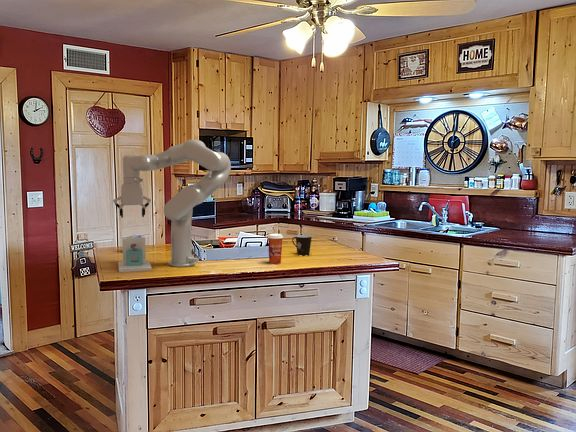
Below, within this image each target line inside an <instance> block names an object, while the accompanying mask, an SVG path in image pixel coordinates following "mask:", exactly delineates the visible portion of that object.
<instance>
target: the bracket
mask: <svg viewBox="0 0 576 432" xmlns="http://www.w3.org/2000/svg"><path fill="white" fill-rule="evenodd" d="M121 239H122V260H121V261H117V263H118V272H119V273H127V272H129V273H130V272H131V273H132V272H146V271H147V272H148V271H153V270H152V269H153V268H152V265H151V263H150V260H149V259H146V237H145V236H144V237H143V236H141V237H140V238H127V237H123V238H121ZM131 244H137V250H142V258H143V265H139V266H127V260H126V250H132V249H131ZM130 258H131V261H138V254H131V255H130Z"/></svg>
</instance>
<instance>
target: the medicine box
mask: <svg viewBox="0 0 576 432" xmlns="http://www.w3.org/2000/svg"><path fill="white" fill-rule="evenodd" d="M134 237H136V238H140V237H142V235H140V234H133V235H130V236H127V237H126V238H134ZM131 249H132V248H131Z"/></svg>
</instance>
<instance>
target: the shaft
mask: <svg viewBox="0 0 576 432" xmlns="http://www.w3.org/2000/svg"><path fill="white" fill-rule="evenodd" d="M134 238H136V237H134ZM131 248H132V250H133V251H136V250H137V244H131Z"/></svg>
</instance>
